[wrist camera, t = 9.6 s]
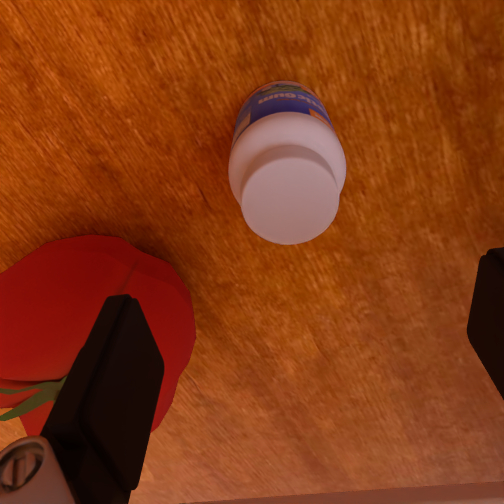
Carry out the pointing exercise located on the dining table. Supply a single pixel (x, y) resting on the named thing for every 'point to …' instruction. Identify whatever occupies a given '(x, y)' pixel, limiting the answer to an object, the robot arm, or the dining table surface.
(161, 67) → the dining table surface
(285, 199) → the pill bottle
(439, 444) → the dining table surface
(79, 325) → the tomato
